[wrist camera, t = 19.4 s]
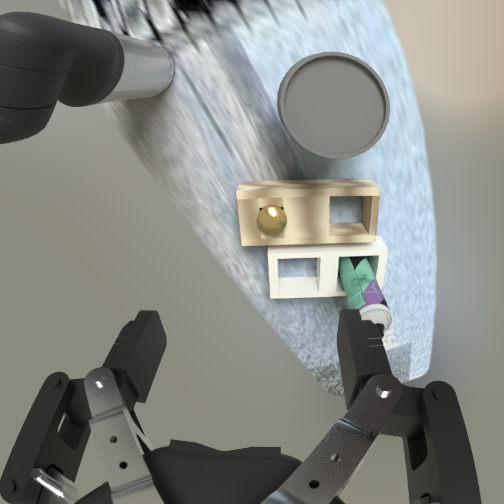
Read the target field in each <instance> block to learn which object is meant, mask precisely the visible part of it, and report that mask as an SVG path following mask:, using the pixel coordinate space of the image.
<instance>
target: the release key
mask: <svg viewBox="0 0 504 504" xmlns="http://www.w3.org/2000/svg"><path fill="white" fill-rule="evenodd" d="M257 224H258V227H259V228H260V230H261V231H263V232H264V233H266V234H270V235H274V234H278V233H280V232H282V231H283V230H284V228H285V227H286V224H287V216H286V213H285V211H284V210H283V209H282V207H279V206H276V205H268V206H265V207H263V208H262V209H261V210H260V211H259V213H258V217H257Z"/></svg>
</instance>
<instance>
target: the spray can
mask: <svg viewBox="0 0 504 504" xmlns="http://www.w3.org/2000/svg"><path fill="white" fill-rule="evenodd" d="M338 269H339V273H340V276H341V280H342V283H343V286H344V290H345V293H346V297H347V301H348V304H349V308H350V309H357V308H358V309H359V311H360V315H361V318H362V320H371V321H372V322H373V323H374V324H375V325H376V326H377V327H378V330H379V333H380V336H381V339H382V338H383V336H384V333H385V332H386V331H387V330H388V329H389V327H390V325H391V323H392V317H391V313H390V310H389V308H388V305H387V303H386V301H385V298H384V296H383V294H382V291H381V289H380V287H379V284H378V282H377V280H376V278H375V276H374V273H373V271H372V269H371V267H370V265H369V262H368V260H367V258H366V256H346V257H339V262H338Z"/></svg>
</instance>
